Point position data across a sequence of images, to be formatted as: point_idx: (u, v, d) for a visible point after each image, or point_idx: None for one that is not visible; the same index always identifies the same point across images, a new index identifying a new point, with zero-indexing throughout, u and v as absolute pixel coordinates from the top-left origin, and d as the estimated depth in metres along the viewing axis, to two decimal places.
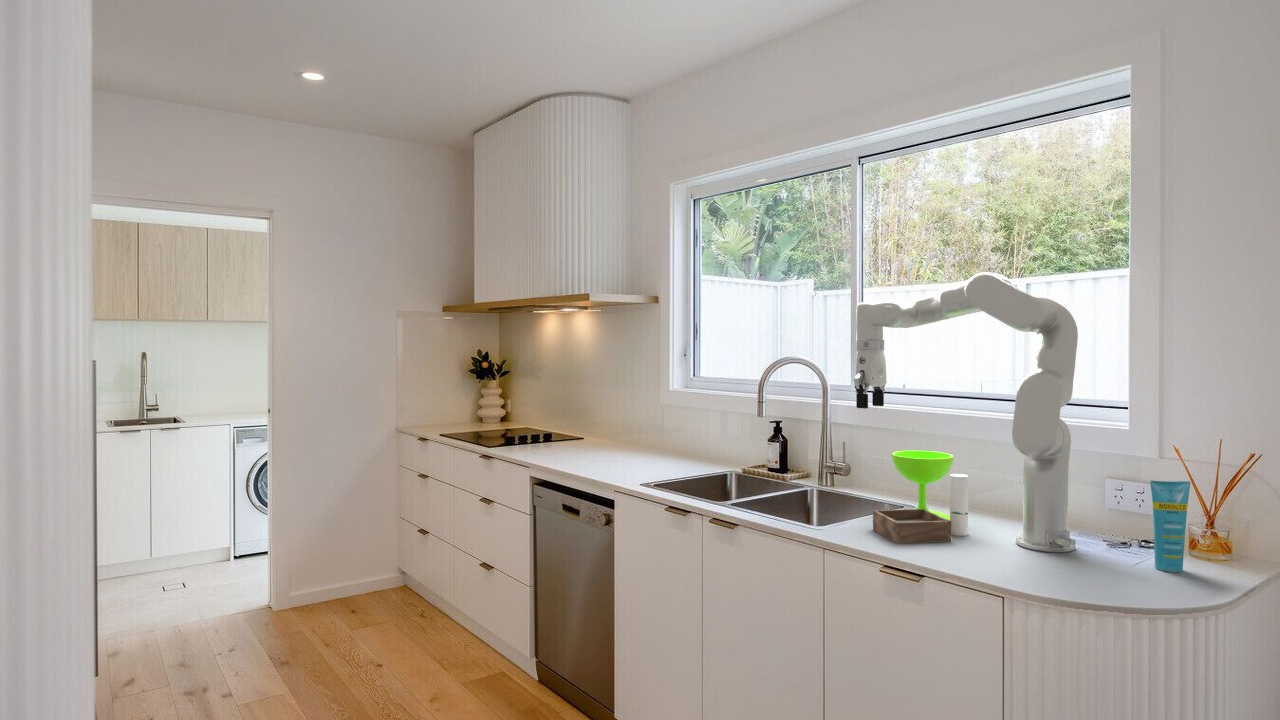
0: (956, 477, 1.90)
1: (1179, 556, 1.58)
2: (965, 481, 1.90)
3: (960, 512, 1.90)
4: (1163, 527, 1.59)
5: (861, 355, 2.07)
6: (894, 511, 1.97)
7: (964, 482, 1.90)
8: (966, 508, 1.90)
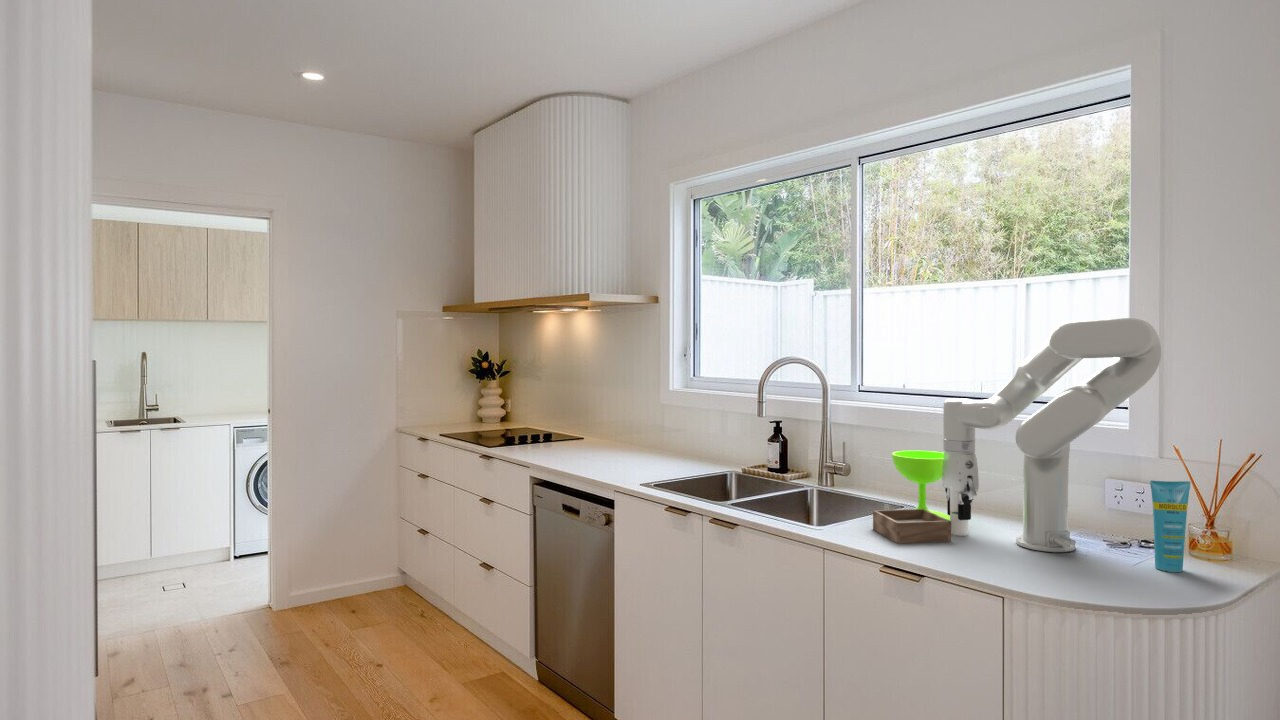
0: None
1: (1179, 556, 1.58)
2: None
3: None
4: (1162, 527, 1.59)
5: (967, 459, 1.87)
6: (894, 511, 1.97)
7: None
8: None
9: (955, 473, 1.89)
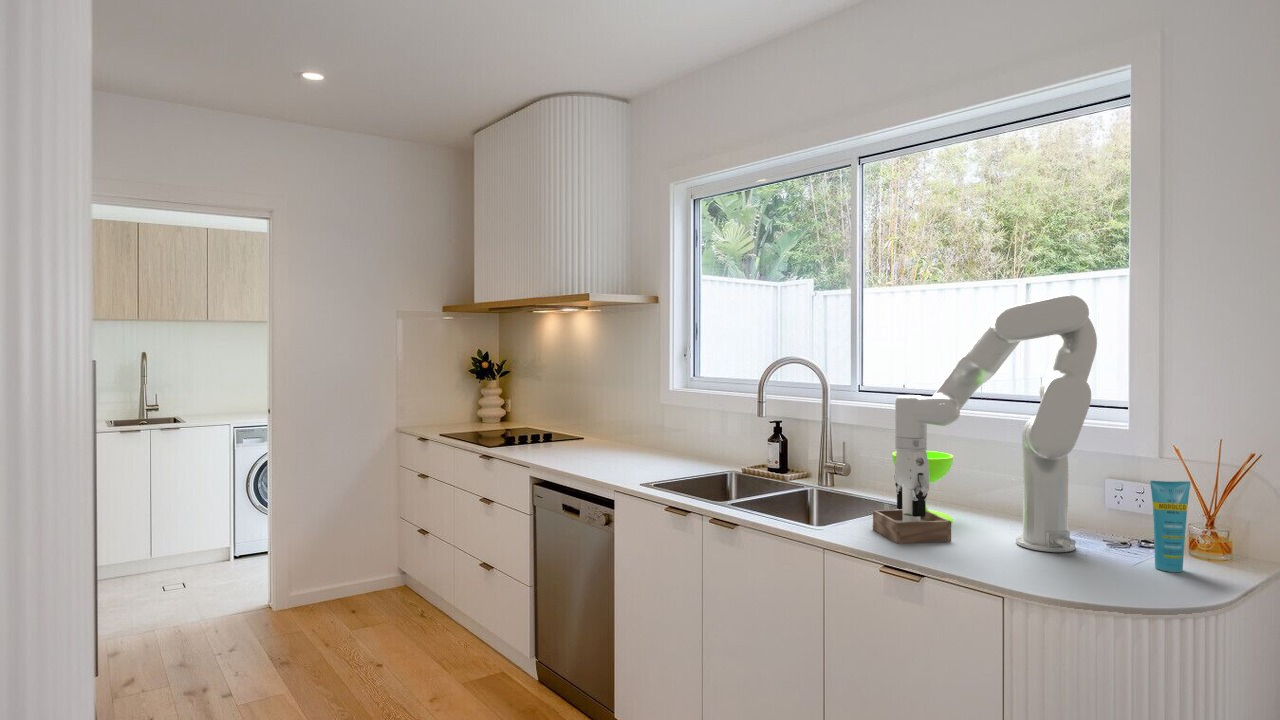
0: None
1: (1179, 556, 1.58)
2: None
3: None
4: (1163, 527, 1.59)
5: (918, 456, 1.86)
6: (894, 511, 1.97)
7: None
8: None
9: (906, 470, 1.88)
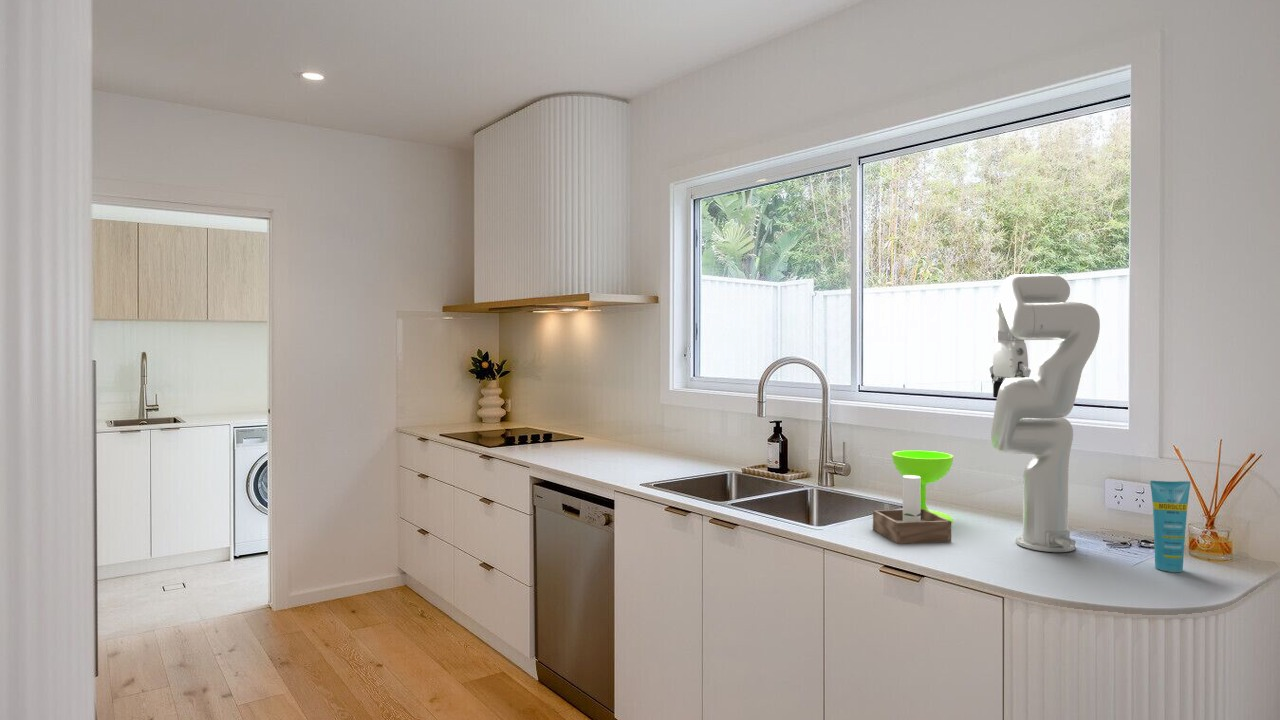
0: (908, 478, 1.89)
1: (1179, 556, 1.58)
2: (917, 483, 1.88)
3: (912, 514, 1.88)
4: (1162, 527, 1.59)
5: (1018, 346, 2.05)
6: (894, 511, 1.97)
7: (916, 483, 1.88)
8: (918, 510, 1.89)
9: (1006, 360, 2.07)
